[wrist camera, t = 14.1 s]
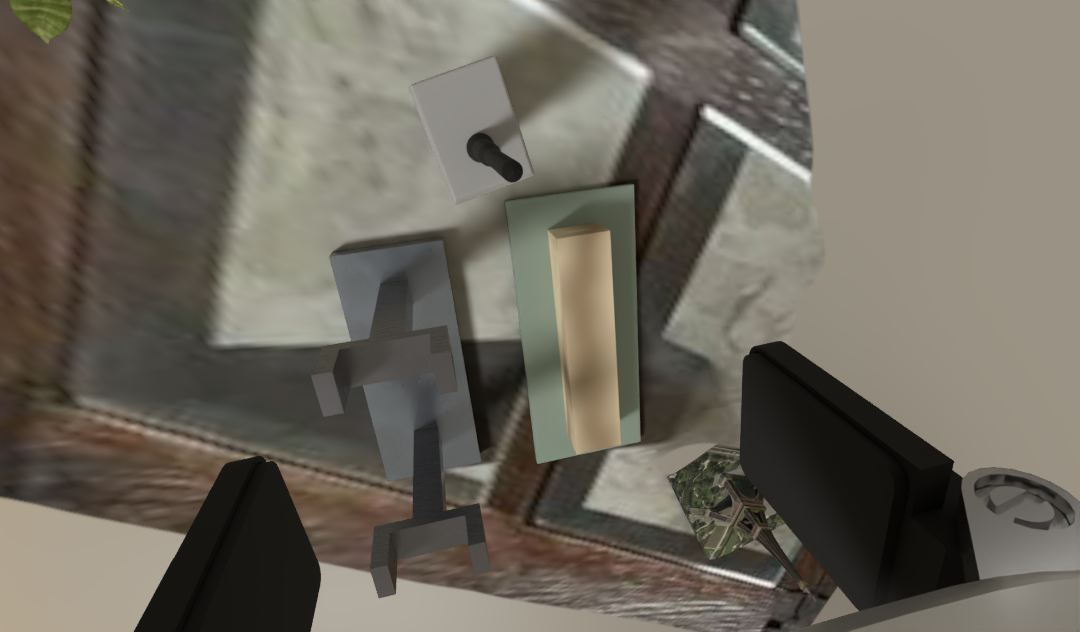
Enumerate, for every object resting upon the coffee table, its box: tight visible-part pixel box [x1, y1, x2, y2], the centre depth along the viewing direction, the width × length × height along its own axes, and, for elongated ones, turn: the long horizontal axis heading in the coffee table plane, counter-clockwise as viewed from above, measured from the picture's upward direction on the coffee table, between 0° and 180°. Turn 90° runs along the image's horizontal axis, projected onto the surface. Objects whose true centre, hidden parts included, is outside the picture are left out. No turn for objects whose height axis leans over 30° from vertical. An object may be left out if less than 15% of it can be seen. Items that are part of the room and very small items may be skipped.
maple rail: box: [548, 222, 621, 454], centre depth 43 cm, size 4×19×3 cm, turn 6°
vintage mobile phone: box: [409, 56, 534, 205], centre depth 26 cm, size 4×5×25 cm
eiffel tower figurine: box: [668, 444, 817, 602], centre depth 51 cm, size 15×10×13 cm
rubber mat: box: [505, 184, 640, 464], centre depth 45 cm, size 10×24×1 cm, turn 6°
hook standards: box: [311, 237, 490, 598], centre depth 36 cm, size 8×20×15 cm, turn 6°
